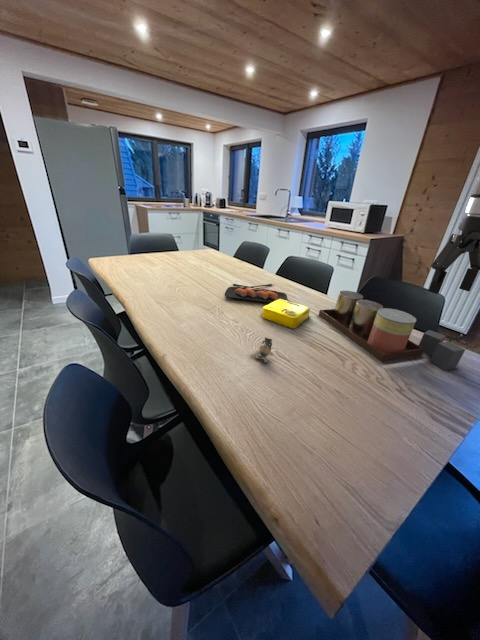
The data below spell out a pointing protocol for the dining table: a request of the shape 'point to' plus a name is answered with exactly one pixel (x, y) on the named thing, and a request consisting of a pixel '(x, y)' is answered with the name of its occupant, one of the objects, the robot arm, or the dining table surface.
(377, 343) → the canned food
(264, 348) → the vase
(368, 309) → the tin
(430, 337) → the grey block
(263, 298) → the sushi plate
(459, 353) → the grey block
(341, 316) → the tin
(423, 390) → the dining table surface
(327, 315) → the tray
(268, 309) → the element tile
